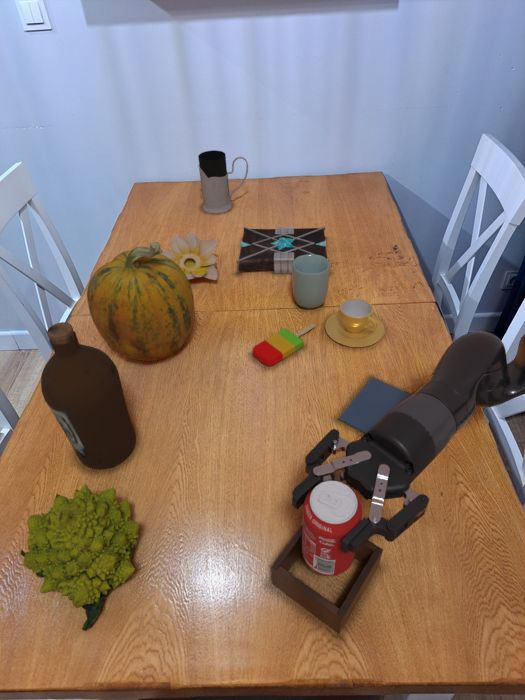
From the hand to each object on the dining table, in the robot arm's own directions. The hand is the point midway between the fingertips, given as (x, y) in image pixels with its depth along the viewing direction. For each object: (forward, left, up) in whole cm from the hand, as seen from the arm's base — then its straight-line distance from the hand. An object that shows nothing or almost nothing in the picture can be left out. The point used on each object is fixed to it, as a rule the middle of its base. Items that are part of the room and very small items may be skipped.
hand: (317, 524), depth 52 cm
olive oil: (+40, +1, -16) cm, 43 cm away
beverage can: (0, -2, -10) cm, 10 cm away
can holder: (-1, -2, -16) cm, 16 cm away
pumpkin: (+52, -21, -16) cm, 58 cm away
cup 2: (+21, -48, -16) cm, 55 cm away
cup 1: (+33, -51, -16) cm, 63 cm away
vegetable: (+25, +14, -16) cm, 33 cm away
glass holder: (+80, -77, -16) cm, 112 cm away
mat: (+4, -32, -16) cm, 36 cm away
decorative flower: (+63, -43, -16) cm, 78 cm away
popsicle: (+30, -37, -16) cm, 50 cm away
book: (+50, -64, -16) cm, 82 cm away
